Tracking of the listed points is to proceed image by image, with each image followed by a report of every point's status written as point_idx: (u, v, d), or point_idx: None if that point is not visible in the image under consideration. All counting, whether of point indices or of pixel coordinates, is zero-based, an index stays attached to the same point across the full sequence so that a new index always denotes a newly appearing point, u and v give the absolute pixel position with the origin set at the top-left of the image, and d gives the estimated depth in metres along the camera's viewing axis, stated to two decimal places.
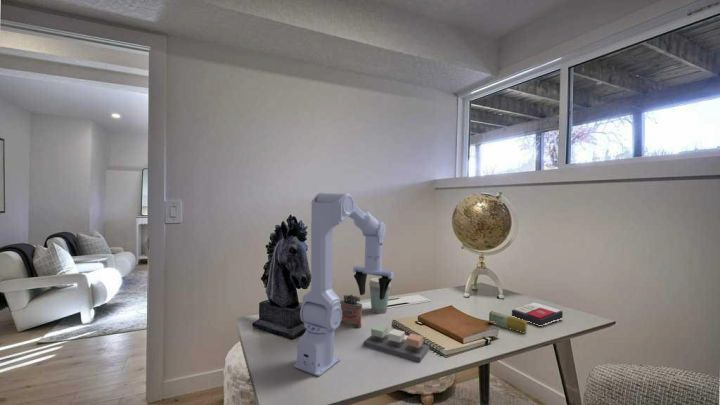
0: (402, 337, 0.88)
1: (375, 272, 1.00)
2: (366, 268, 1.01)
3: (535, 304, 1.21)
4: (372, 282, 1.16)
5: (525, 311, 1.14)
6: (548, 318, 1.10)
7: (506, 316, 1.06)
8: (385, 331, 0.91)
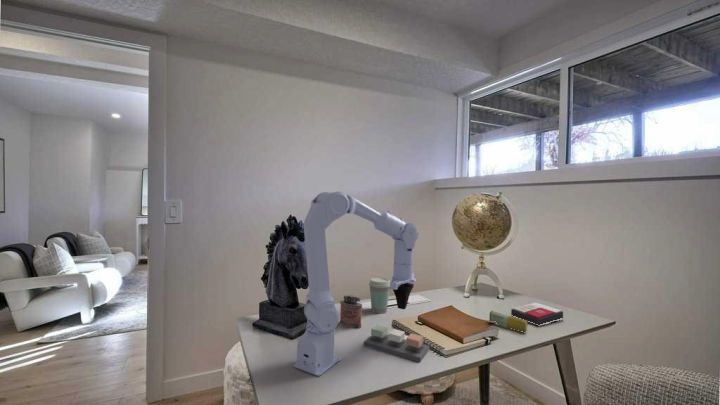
0: (402, 337, 0.88)
1: (392, 278, 0.91)
2: None
3: (536, 304, 1.21)
4: (372, 282, 1.16)
5: (524, 310, 1.14)
6: (547, 318, 1.10)
7: (506, 316, 1.07)
8: (385, 331, 0.91)
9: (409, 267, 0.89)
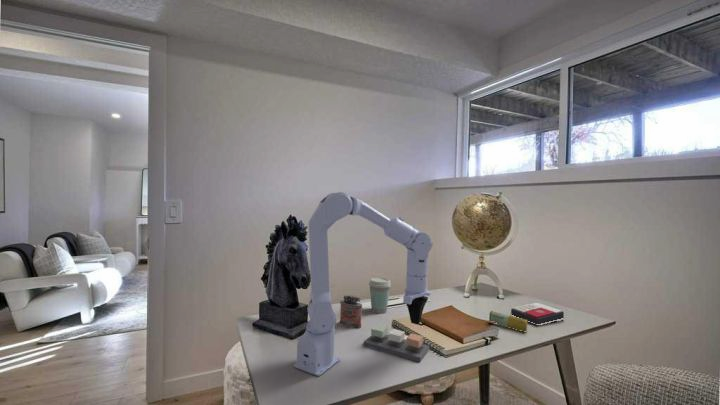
0: (402, 337, 0.88)
1: (405, 291, 0.85)
2: None
3: (537, 304, 1.21)
4: (372, 282, 1.16)
5: (524, 310, 1.14)
6: (546, 318, 1.10)
7: (506, 316, 1.07)
8: (385, 331, 0.91)
9: (423, 279, 0.83)
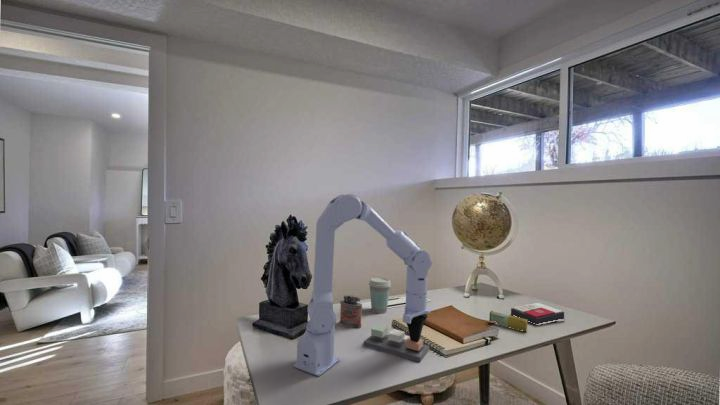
0: (402, 337, 0.88)
1: None
2: None
3: (538, 304, 1.21)
4: (372, 282, 1.16)
5: (523, 310, 1.15)
6: (546, 317, 1.10)
7: (507, 315, 1.07)
8: (385, 331, 0.91)
9: (423, 297, 0.83)
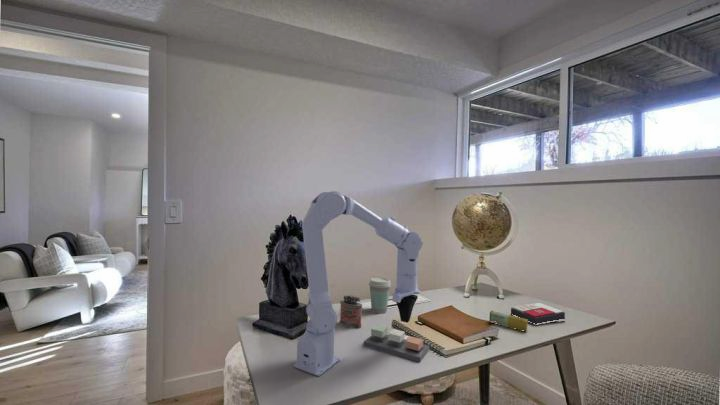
0: (402, 337, 0.88)
1: (395, 290, 0.86)
2: None
3: (539, 304, 1.21)
4: (372, 282, 1.16)
5: (523, 309, 1.15)
6: (545, 317, 1.10)
7: (507, 315, 1.07)
8: (385, 331, 0.91)
9: (413, 278, 0.85)
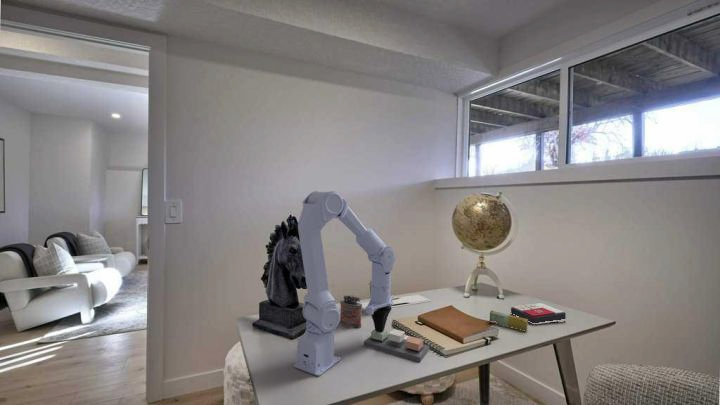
0: (402, 337, 0.88)
1: (369, 302, 0.90)
2: None
3: (540, 304, 1.21)
4: None
5: (523, 309, 1.16)
6: (544, 317, 1.10)
7: (507, 315, 1.07)
8: (385, 334, 0.91)
9: (386, 291, 0.89)
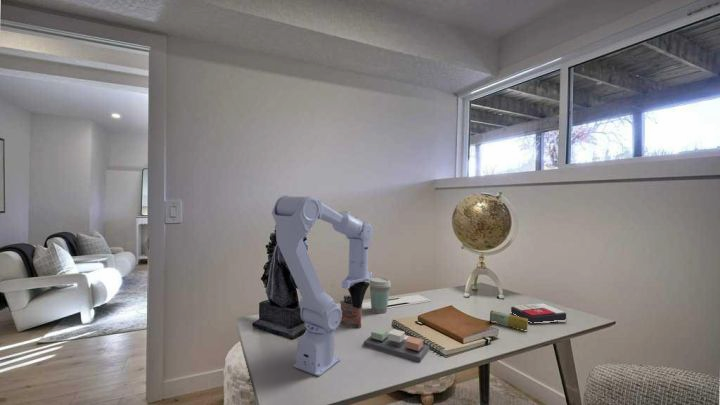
0: (402, 337, 0.88)
1: None
2: None
3: (541, 305, 1.21)
4: (372, 282, 1.16)
5: (522, 309, 1.16)
6: (543, 317, 1.10)
7: (507, 315, 1.08)
8: (385, 334, 0.91)
9: (363, 266, 0.89)
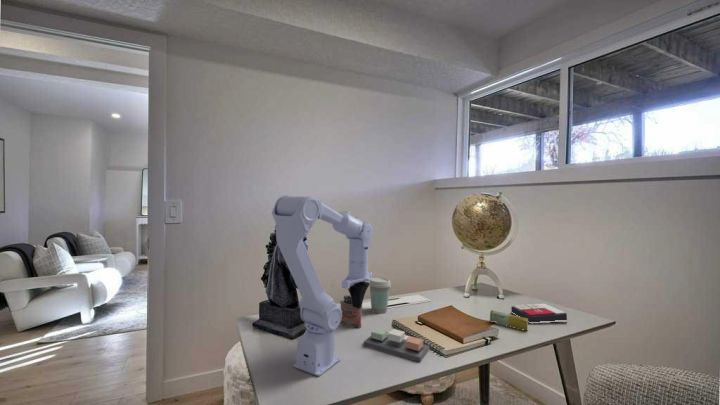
0: (402, 337, 0.88)
1: None
2: None
3: (543, 305, 1.21)
4: (372, 282, 1.16)
5: (522, 308, 1.17)
6: (542, 317, 1.11)
7: (507, 315, 1.08)
8: (385, 334, 0.91)
9: (363, 266, 0.89)
